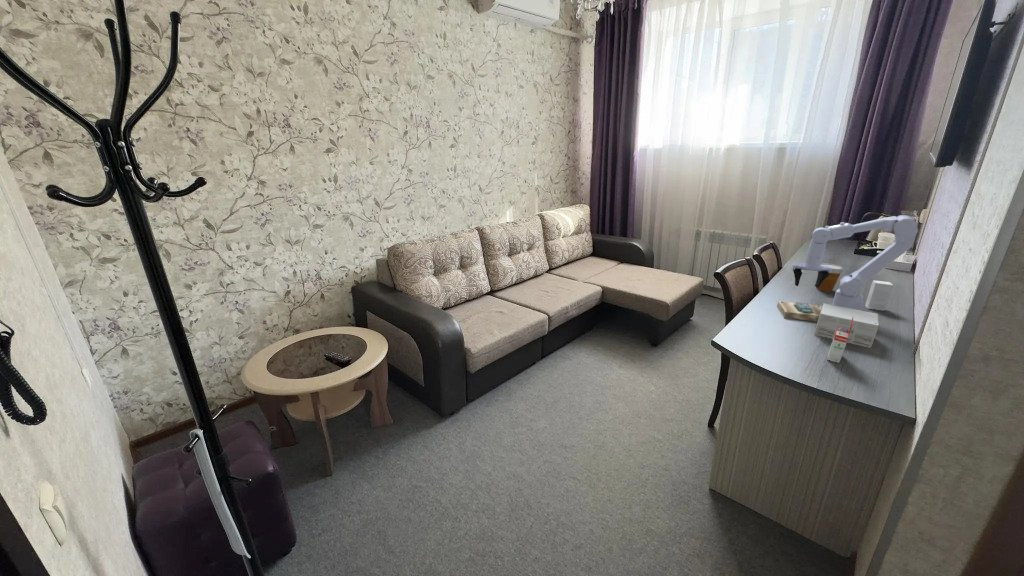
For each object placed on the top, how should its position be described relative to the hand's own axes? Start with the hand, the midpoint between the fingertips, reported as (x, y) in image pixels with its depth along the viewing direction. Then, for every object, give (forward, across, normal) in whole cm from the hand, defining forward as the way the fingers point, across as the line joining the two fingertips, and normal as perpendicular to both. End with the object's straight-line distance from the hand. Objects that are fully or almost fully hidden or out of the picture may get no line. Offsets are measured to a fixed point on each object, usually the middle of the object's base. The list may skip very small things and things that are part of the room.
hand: (806, 286), depth 179 cm
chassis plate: (+9, +3, +11) cm, 15 cm away
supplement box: (+10, -6, +28) cm, 30 cm away
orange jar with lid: (+9, -17, -26) cm, 32 cm away
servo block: (+9, +3, +11) cm, 14 cm away
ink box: (+9, +4, +48) cm, 49 cm away
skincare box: (+9, -30, -6) cm, 32 cm away
